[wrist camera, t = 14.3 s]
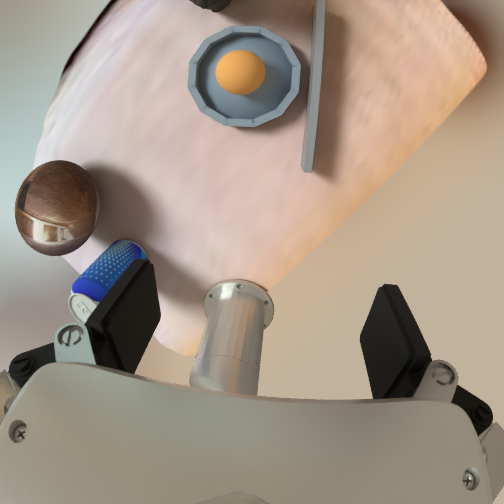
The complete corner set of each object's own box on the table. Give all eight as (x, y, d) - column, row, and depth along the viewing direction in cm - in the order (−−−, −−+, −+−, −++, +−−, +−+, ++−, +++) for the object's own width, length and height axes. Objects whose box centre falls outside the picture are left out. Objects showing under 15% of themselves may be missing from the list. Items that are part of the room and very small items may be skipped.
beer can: (152, 241, 46) (106, 298, 32) (152, 281, 50) (114, 342, 36) (111, 232, 46) (58, 281, 32) (113, 270, 50) (69, 324, 36)
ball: (268, 56, 30) (264, 45, 24) (265, 97, 32) (261, 94, 27) (223, 55, 30) (211, 45, 25) (220, 96, 33) (208, 92, 28)
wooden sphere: (119, 236, 46) (71, 283, 33) (59, 226, 46) (10, 264, 33) (115, 151, 38) (52, 176, 25) (52, 152, 39) (-8, 176, 26)
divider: (308, 166, 37) (311, 172, 34) (300, 165, 37) (303, 171, 34) (320, 8, 26) (325, -3, 22) (313, 7, 26) (317, -4, 22)
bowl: (294, 129, 35) (295, 131, 33) (191, 124, 36) (186, 125, 34) (301, 34, 28) (303, 29, 26) (197, 32, 29) (192, 27, 27)
